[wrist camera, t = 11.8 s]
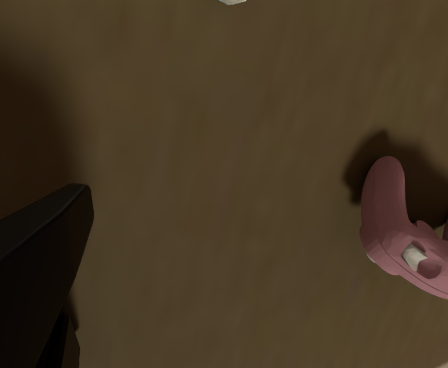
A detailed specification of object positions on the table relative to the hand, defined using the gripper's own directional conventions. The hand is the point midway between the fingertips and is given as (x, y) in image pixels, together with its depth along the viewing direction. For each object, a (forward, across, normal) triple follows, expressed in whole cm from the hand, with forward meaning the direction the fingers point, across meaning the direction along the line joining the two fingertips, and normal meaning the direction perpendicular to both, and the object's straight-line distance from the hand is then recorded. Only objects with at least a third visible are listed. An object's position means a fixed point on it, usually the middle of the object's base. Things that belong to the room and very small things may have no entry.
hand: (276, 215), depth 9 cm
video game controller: (+13, -11, +9) cm, 20 cm away
